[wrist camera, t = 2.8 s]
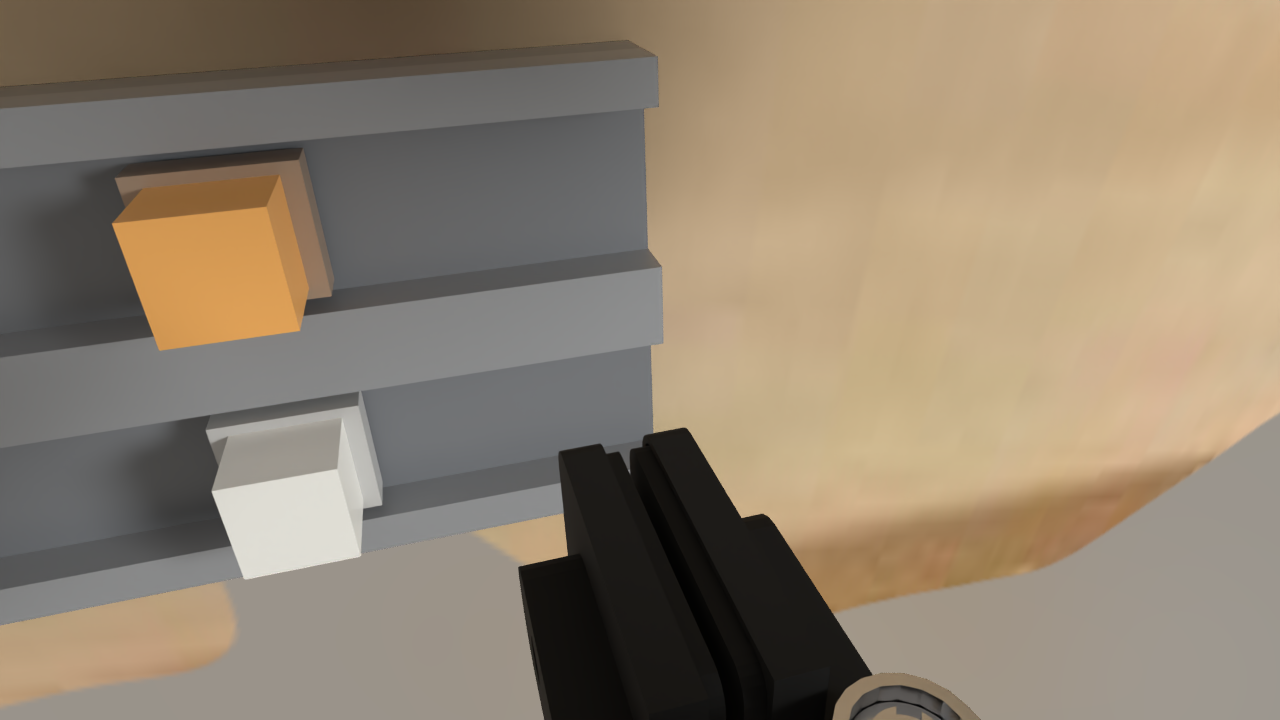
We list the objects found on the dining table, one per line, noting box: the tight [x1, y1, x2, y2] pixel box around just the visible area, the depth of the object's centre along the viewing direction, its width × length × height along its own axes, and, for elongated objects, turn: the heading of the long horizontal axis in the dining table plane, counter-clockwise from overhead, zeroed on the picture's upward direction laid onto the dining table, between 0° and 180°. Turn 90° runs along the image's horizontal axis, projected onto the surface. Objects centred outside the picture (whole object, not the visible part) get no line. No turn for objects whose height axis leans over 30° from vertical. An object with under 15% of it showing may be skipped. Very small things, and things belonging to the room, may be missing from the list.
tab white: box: [206, 391, 383, 580], centre depth 23 cm, size 4×4×4 cm
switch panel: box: [0, 40, 663, 625], centre depth 22 cm, size 30×14×3 cm, turn 92°
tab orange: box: [112, 148, 334, 351], centre depth 19 cm, size 4×4×4 cm
